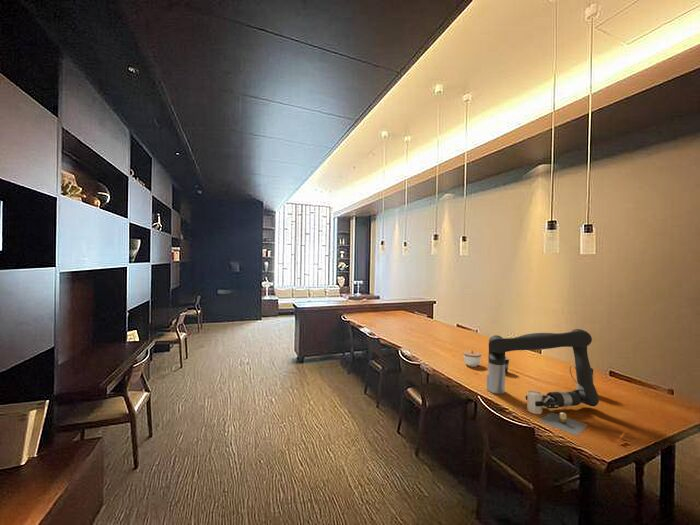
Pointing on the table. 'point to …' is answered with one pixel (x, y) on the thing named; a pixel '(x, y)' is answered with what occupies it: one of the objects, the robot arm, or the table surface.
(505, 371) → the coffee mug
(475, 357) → the lidded bowl
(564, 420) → the brass candle
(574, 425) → the slate mat
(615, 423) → the table surface
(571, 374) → the glass holder
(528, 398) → the cup
